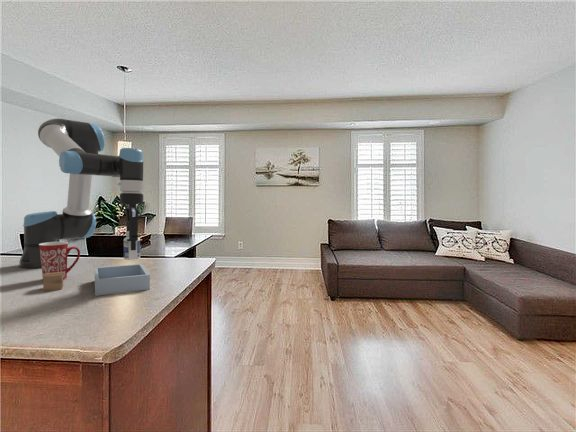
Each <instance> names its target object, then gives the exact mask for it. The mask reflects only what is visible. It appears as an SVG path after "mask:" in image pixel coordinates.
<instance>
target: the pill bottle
mask: <svg viewBox="0 0 576 432" xmlns="http://www.w3.org/2000/svg"><path fill="white" fill-rule="evenodd" d="M125 236H126V237H124V238H123V259H124V260H127V261H130V260H129V241H127V239H129V231H127V230H126V231H125ZM140 258H141V238H140V237H139V236H138V240H137V259H134V260H140Z"/></svg>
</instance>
